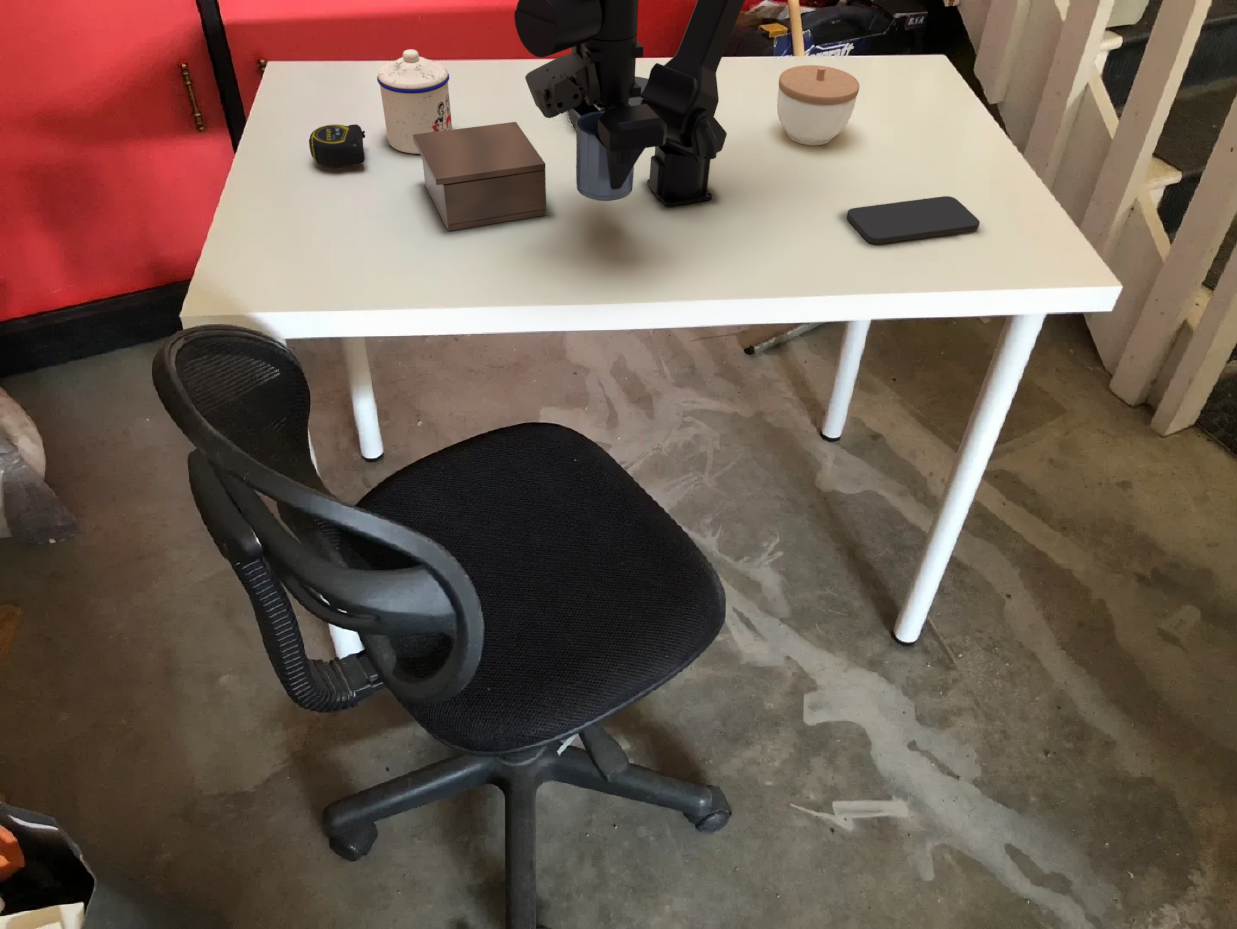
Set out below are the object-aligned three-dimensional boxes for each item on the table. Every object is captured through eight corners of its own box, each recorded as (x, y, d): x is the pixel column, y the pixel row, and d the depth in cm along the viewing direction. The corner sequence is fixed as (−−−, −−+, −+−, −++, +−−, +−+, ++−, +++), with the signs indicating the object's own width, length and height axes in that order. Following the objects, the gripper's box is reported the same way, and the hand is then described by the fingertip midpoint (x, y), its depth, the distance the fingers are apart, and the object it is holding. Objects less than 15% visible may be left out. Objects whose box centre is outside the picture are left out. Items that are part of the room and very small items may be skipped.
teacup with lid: (449, 157, 122) (440, 67, 114) (379, 154, 122) (366, 64, 114) (462, 117, 131) (455, 31, 123) (397, 114, 131) (386, 28, 123)
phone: (844, 208, 115) (952, 194, 118) (842, 214, 115) (950, 200, 118) (871, 240, 110) (984, 224, 113) (870, 246, 110) (982, 230, 113)
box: (448, 231, 109) (443, 185, 105) (425, 185, 117) (420, 141, 113) (546, 215, 113) (545, 170, 109) (518, 171, 120) (516, 127, 116)
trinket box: (862, 147, 129) (878, 78, 122) (794, 158, 126) (806, 88, 119) (822, 114, 136) (835, 48, 129) (757, 124, 133) (767, 57, 126)
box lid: (436, 185, 105) (435, 178, 104) (413, 140, 113) (412, 134, 112) (545, 169, 109) (545, 163, 108) (516, 127, 116) (516, 121, 116)
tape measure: (367, 172, 119) (362, 144, 116) (311, 175, 118) (305, 147, 115) (367, 148, 124) (363, 120, 121) (314, 150, 123) (308, 122, 120)
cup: (620, 170, 110) (622, 107, 104) (641, 196, 105) (644, 132, 100) (568, 178, 108) (568, 114, 102) (587, 204, 103) (588, 140, 98)
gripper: (505, 6, 98) (512, 148, 109) (564, 75, 86) (564, 226, 97) (604, -3, 102) (601, 135, 112) (674, 62, 89) (662, 210, 100)
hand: (604, 174), depth 105 cm, fingers closed on cup, 6 cm apart
